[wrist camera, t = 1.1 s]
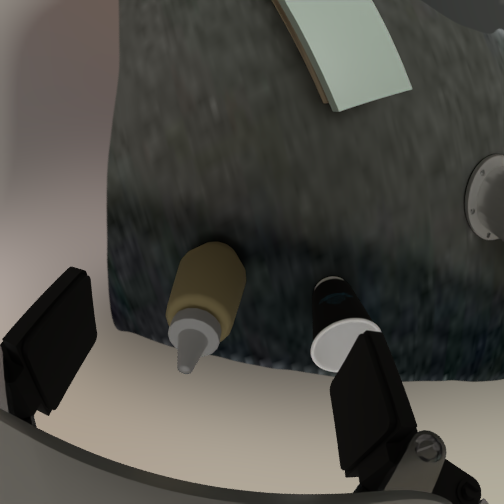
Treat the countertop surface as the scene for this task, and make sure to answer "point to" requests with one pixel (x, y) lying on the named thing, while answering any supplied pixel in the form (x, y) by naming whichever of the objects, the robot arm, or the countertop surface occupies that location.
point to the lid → (348, 50)
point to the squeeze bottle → (204, 301)
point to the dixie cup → (336, 322)
